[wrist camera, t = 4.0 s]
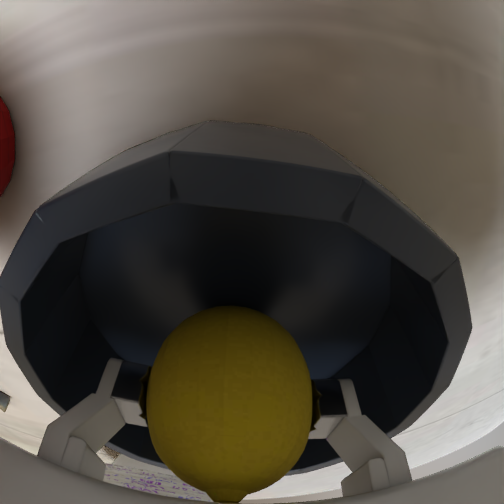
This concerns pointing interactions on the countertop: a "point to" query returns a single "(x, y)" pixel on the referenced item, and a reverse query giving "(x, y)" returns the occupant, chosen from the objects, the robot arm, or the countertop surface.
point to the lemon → (229, 402)
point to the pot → (236, 272)
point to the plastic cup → (6, 147)
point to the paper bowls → (150, 479)
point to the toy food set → (4, 401)
